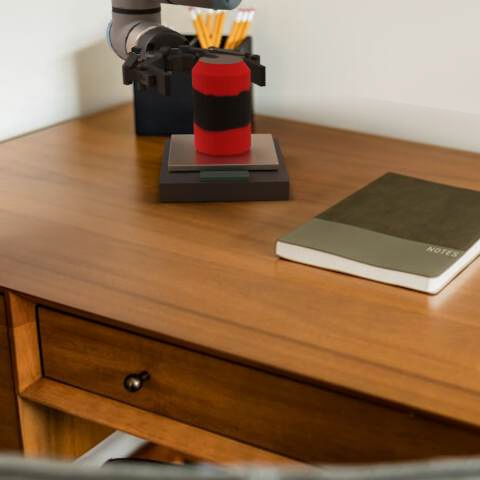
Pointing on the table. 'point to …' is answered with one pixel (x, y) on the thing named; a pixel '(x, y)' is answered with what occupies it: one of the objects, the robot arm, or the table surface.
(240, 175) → the scale
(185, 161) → the scale platter
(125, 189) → the table surface
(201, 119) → the soda can
